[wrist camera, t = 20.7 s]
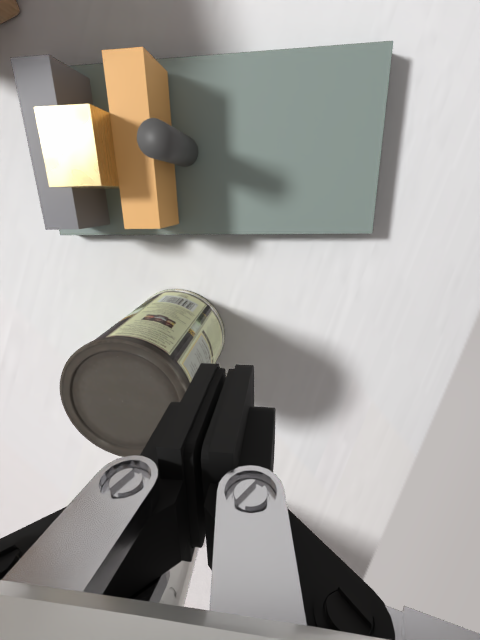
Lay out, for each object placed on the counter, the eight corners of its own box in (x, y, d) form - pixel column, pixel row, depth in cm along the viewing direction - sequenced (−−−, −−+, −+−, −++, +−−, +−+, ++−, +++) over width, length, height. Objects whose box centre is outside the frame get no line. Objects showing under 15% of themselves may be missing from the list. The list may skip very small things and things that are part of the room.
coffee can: (151, 378, 41) (86, 463, 28) (125, 296, 38) (37, 350, 25) (234, 368, 39) (206, 455, 26) (214, 281, 36) (170, 330, 23)
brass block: (145, 187, 32) (101, 185, 24) (105, 188, 32) (49, 186, 25) (139, 126, 30) (89, 103, 22) (96, 128, 30) (33, 107, 23)
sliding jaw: (204, 223, 32) (178, 231, 24) (148, 224, 32) (108, 232, 25) (196, 69, 28) (162, 25, 20) (132, 73, 28) (79, 32, 21)
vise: (367, 231, 32) (388, 240, 25) (72, 233, 36) (21, 241, 29) (386, 51, 27) (417, 3, 21) (43, 76, 31) (-25, 43, 25)
